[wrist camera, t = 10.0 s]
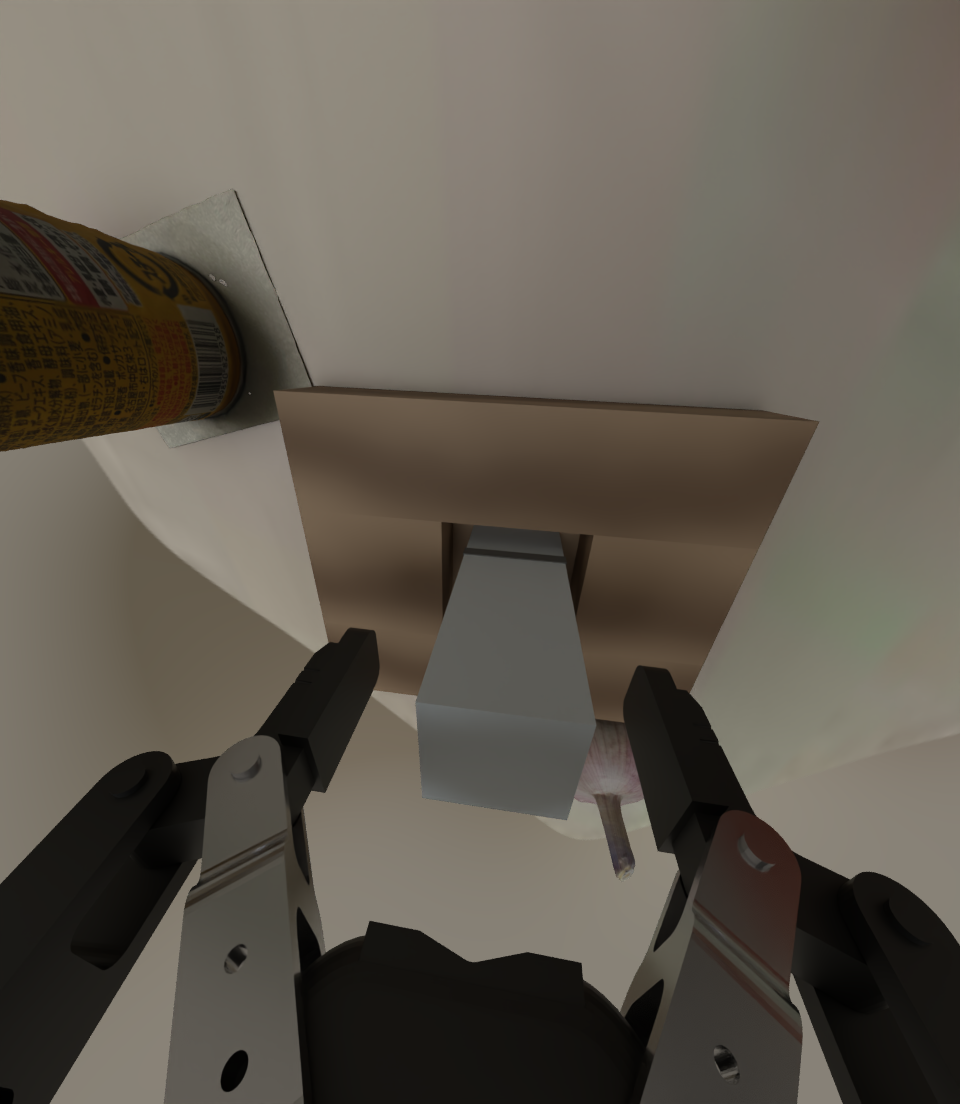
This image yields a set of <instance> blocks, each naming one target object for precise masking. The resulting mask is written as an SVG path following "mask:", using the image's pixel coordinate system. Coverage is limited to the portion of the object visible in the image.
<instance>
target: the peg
mask: <svg viewBox="0 0 960 1104" xmlns="http://www.w3.org/2000/svg"><path fill="white" fill-rule="evenodd" d="M566 564H567V561H566V557H564V554H563V549H562V544H561V539H560V534H559V532H551V531H540V530H528V529H517V528H505V527H494V526H482V525H474V526H473V529H472V533H471V536H470V539H469V542H468V545H467V548H466V547H465V549H464V552H463V560H462V563H461V566H460V569H459V572H458V575H457V578H456V581H455V584H454V587H453V590H452V593H451V596H450V599H449V602H448V605H447V608H446V611H445V614H444V617H443V621H442V624H441V627H440V630H439V633H438V636H437V639H436V642H435V645H434V648H433V651H432V654H431V657H430V660H429V663H428V666H427V669H426V672H425V675H424V678H423V681H422V684H421V687H420V690H419V693H418V696H417V699H416V714H417V728H418V742H419V757H420V771H421V785H422V798H426V799H433V800H439V801H446V802H453V803H458V804H465V805H472V806H478V807H484V808H491V809H498V810H504V811H510V812H517V813H523V814H530V815H536V816H543V817H549V818H556V819H562V820H567V818H568V815H569V812H570V809H571V805H572V802H573V799H574V796H575V793H576V789H577V786H578V783H579V780H580V777H581V773H582V770H583V767H584V764H585V761H586V757H587V754H588V751H589V748H590V745H591V741H592V738H593V735H594V732H595V729H596V721H595V716H594V711H593V705H592V700H591V695H590V690H589V685H588V679H587V674H586V669H585V664H584V659H583V653H582V648H581V643H580V638H579V633H578V627H577V622H576V617H575V612H574V606H573V601H572V596H571V591H570V586H569V580H568V575H567V570H566Z"/></svg>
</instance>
